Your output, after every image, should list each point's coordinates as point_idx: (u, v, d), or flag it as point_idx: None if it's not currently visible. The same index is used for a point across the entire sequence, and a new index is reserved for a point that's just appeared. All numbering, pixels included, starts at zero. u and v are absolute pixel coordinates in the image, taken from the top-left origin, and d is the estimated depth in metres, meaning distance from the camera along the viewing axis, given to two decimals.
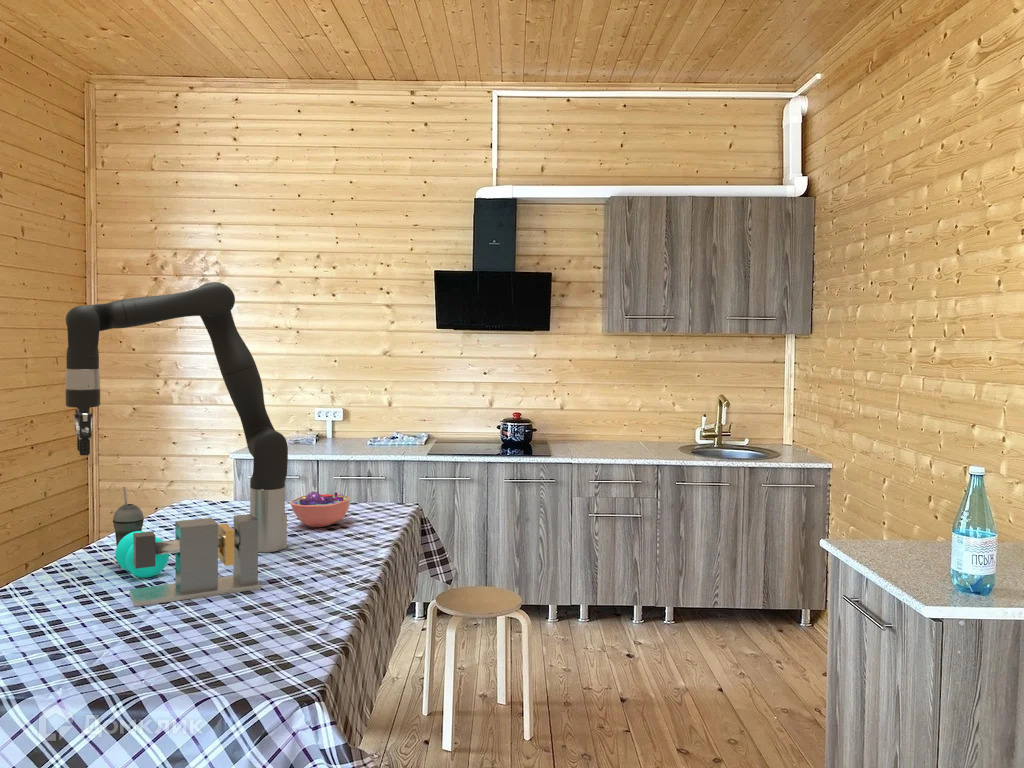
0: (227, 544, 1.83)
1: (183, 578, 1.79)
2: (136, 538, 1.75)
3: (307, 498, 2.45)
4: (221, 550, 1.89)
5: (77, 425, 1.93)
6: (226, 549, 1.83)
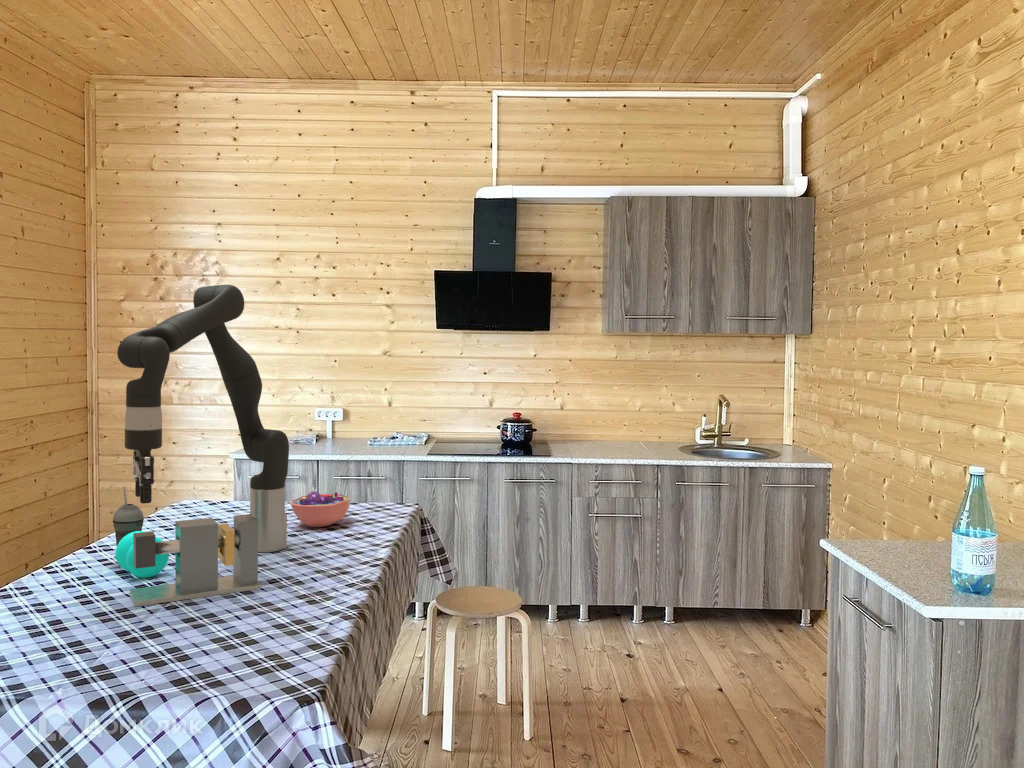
0: (227, 544, 1.83)
1: (183, 578, 1.79)
2: (136, 538, 1.75)
3: (307, 498, 2.45)
4: (221, 550, 1.89)
5: (138, 469, 1.73)
6: (226, 549, 1.83)
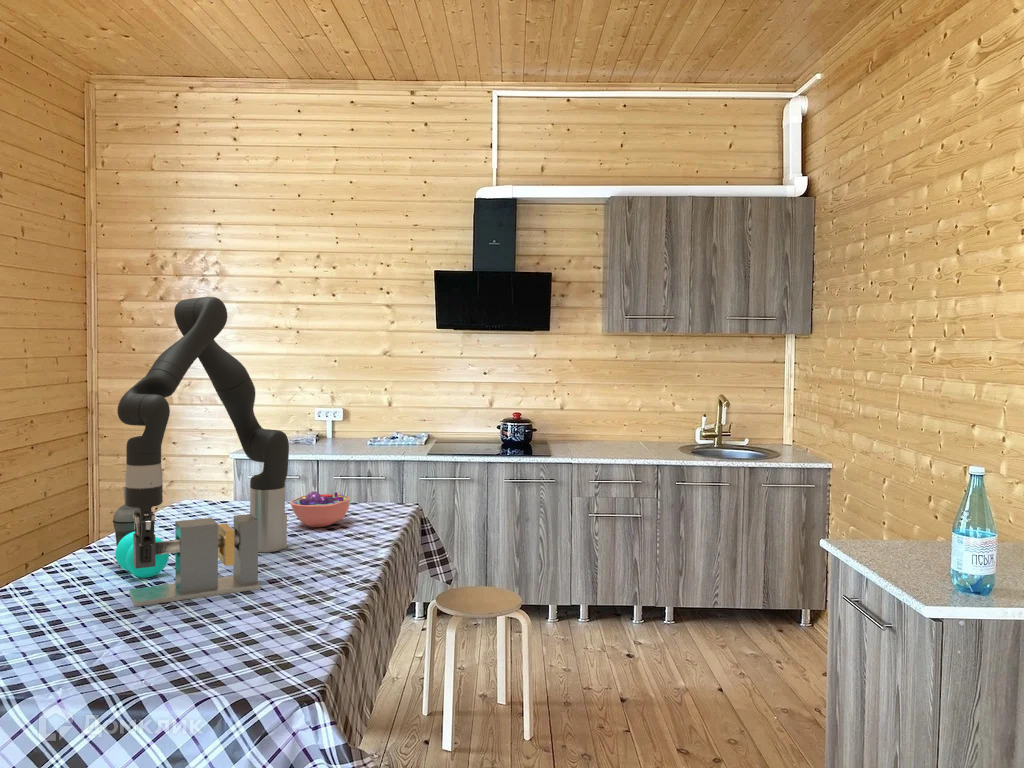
0: (227, 544, 1.83)
1: (183, 578, 1.79)
2: (136, 538, 1.75)
3: (307, 498, 2.45)
4: (221, 550, 1.89)
5: (138, 529, 1.75)
6: (226, 549, 1.83)
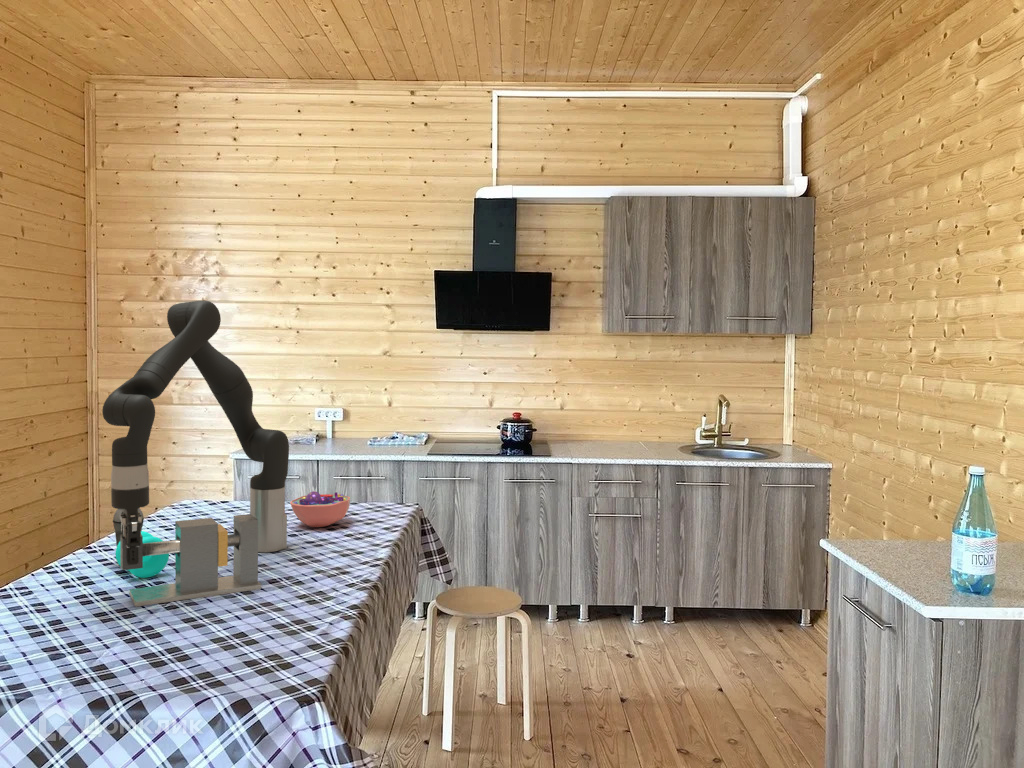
0: (220, 545, 1.83)
1: (183, 578, 1.79)
2: (123, 539, 1.74)
3: (307, 498, 2.45)
4: None
5: (125, 531, 1.73)
6: (219, 550, 1.82)
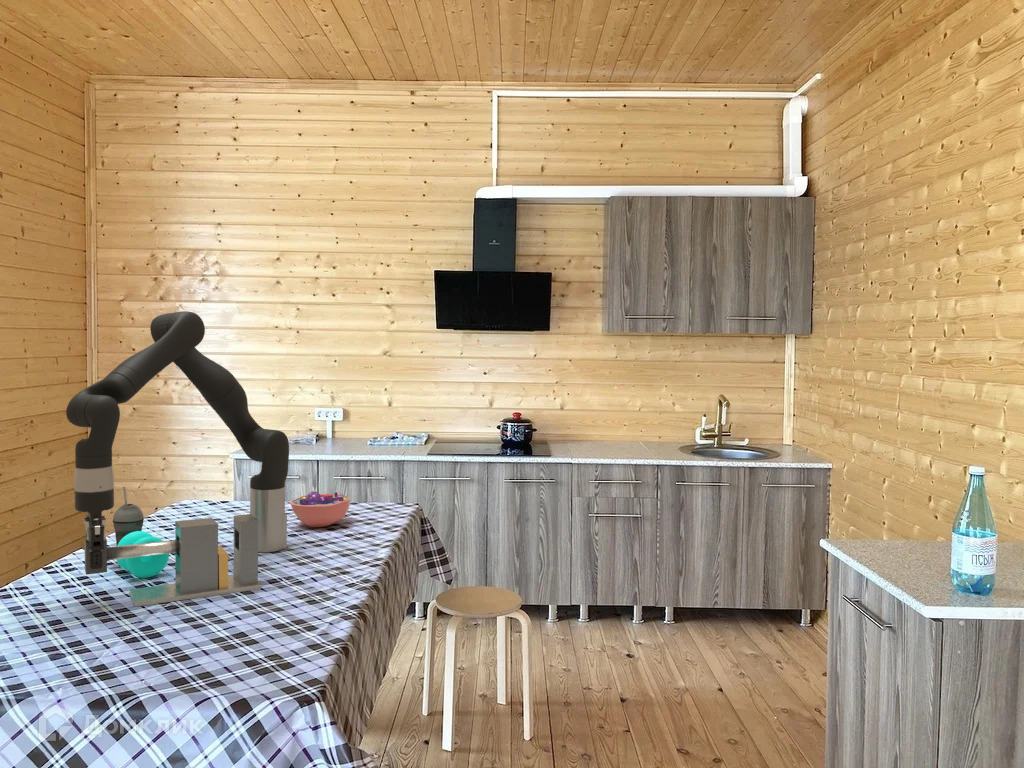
0: (221, 567, 1.83)
1: (183, 578, 1.79)
2: (86, 543, 1.70)
3: (307, 498, 2.45)
4: None
5: (88, 534, 1.69)
6: (220, 572, 1.83)
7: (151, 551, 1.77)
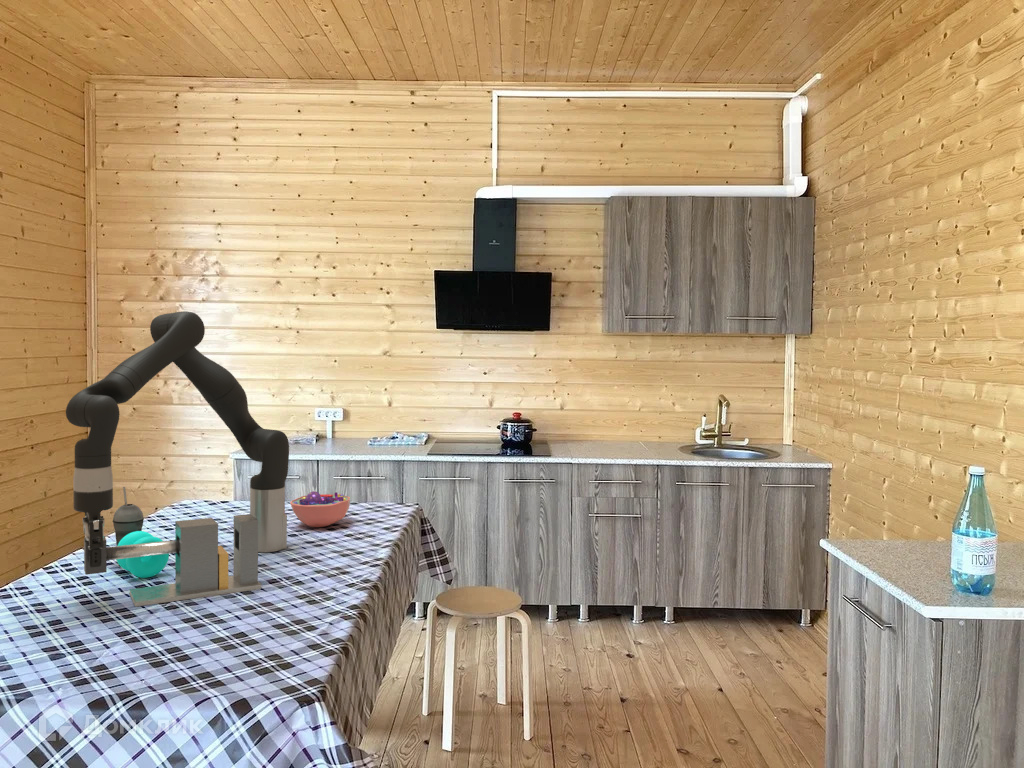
0: (221, 567, 1.83)
1: (183, 578, 1.79)
2: (86, 543, 1.70)
3: (307, 498, 2.45)
4: None
5: (87, 532, 1.69)
6: (220, 572, 1.83)
7: (151, 551, 1.77)
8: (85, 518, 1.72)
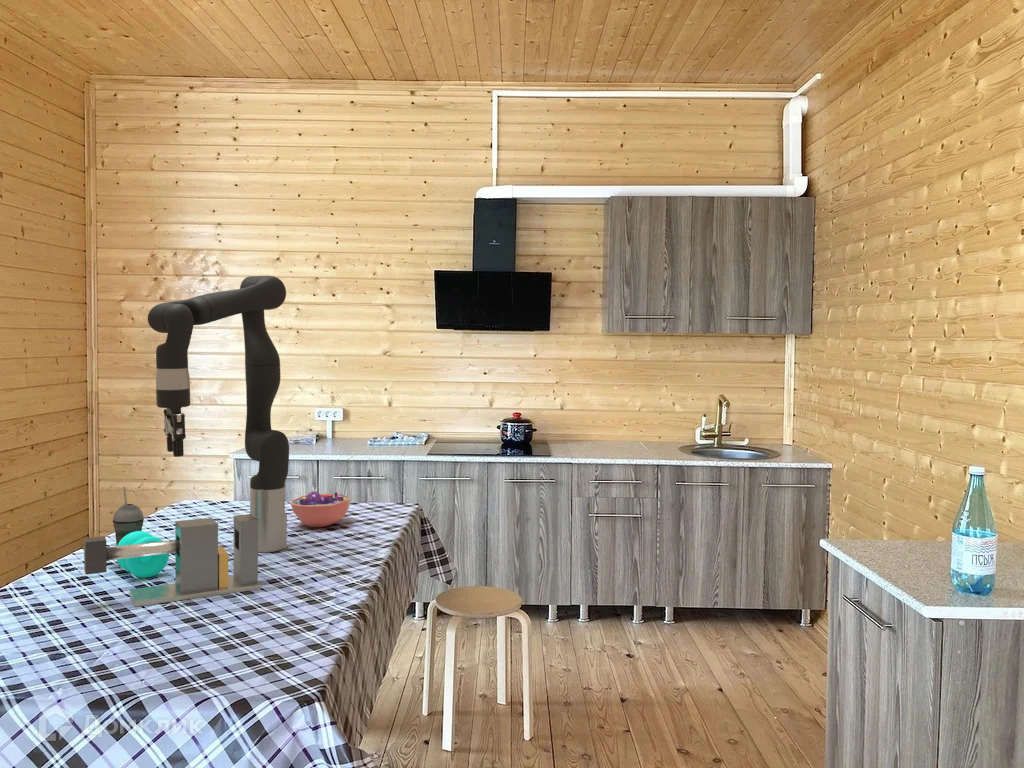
0: (221, 567, 1.83)
1: (183, 578, 1.79)
2: (86, 543, 1.70)
3: (307, 498, 2.45)
4: None
5: (170, 426, 1.89)
6: (220, 572, 1.83)
7: (151, 551, 1.77)
8: (166, 415, 1.92)
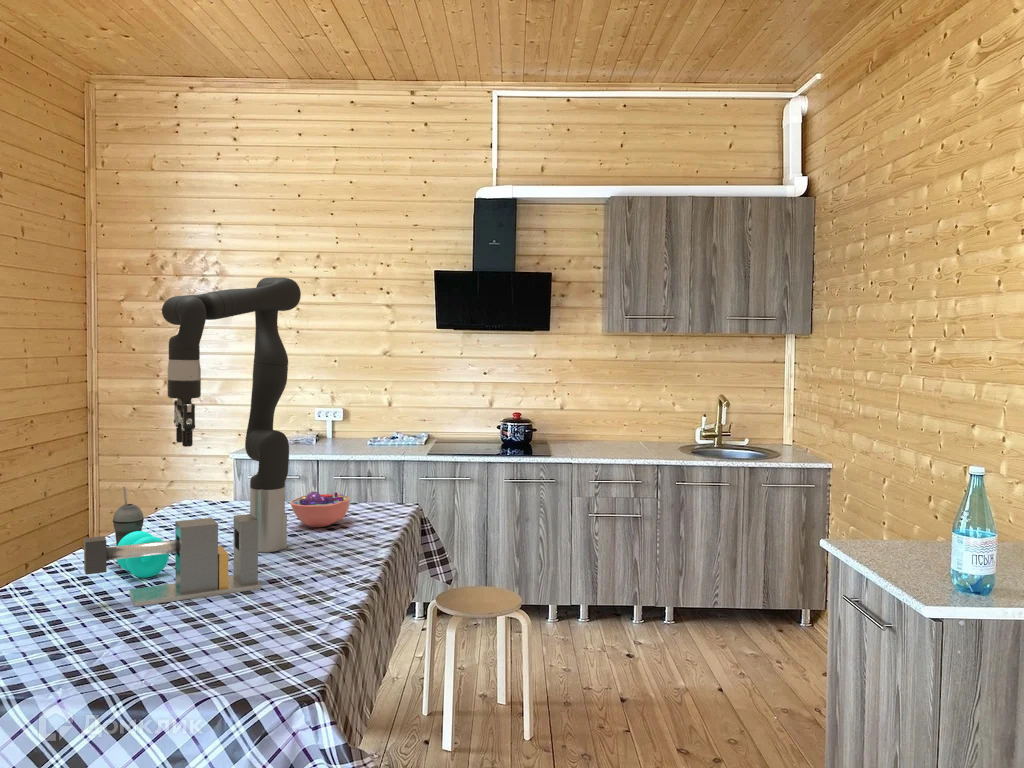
0: (221, 567, 1.83)
1: (183, 578, 1.79)
2: (86, 543, 1.70)
3: (307, 498, 2.45)
4: None
5: (180, 416, 1.92)
6: (220, 572, 1.83)
7: (151, 551, 1.77)
8: (177, 405, 1.95)
